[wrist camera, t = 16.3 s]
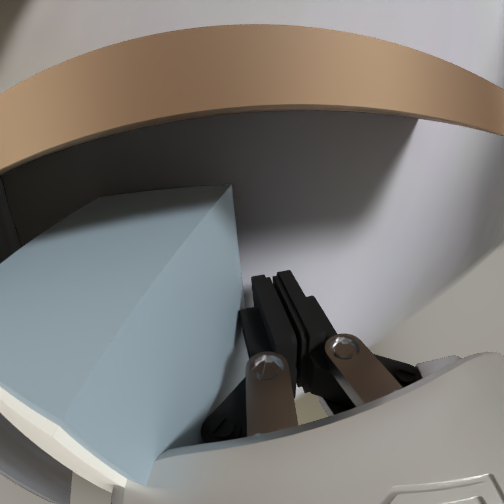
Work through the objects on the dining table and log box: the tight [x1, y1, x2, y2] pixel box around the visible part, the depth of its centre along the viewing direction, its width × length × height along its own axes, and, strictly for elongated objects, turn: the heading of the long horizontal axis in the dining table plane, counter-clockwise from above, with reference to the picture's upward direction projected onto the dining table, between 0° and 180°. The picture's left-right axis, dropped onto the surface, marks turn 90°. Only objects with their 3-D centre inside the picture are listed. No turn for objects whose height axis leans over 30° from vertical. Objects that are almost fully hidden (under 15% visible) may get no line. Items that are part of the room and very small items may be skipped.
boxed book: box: [0, 184, 249, 493], centre depth 9 cm, size 6×10×9 cm, turn 4°
